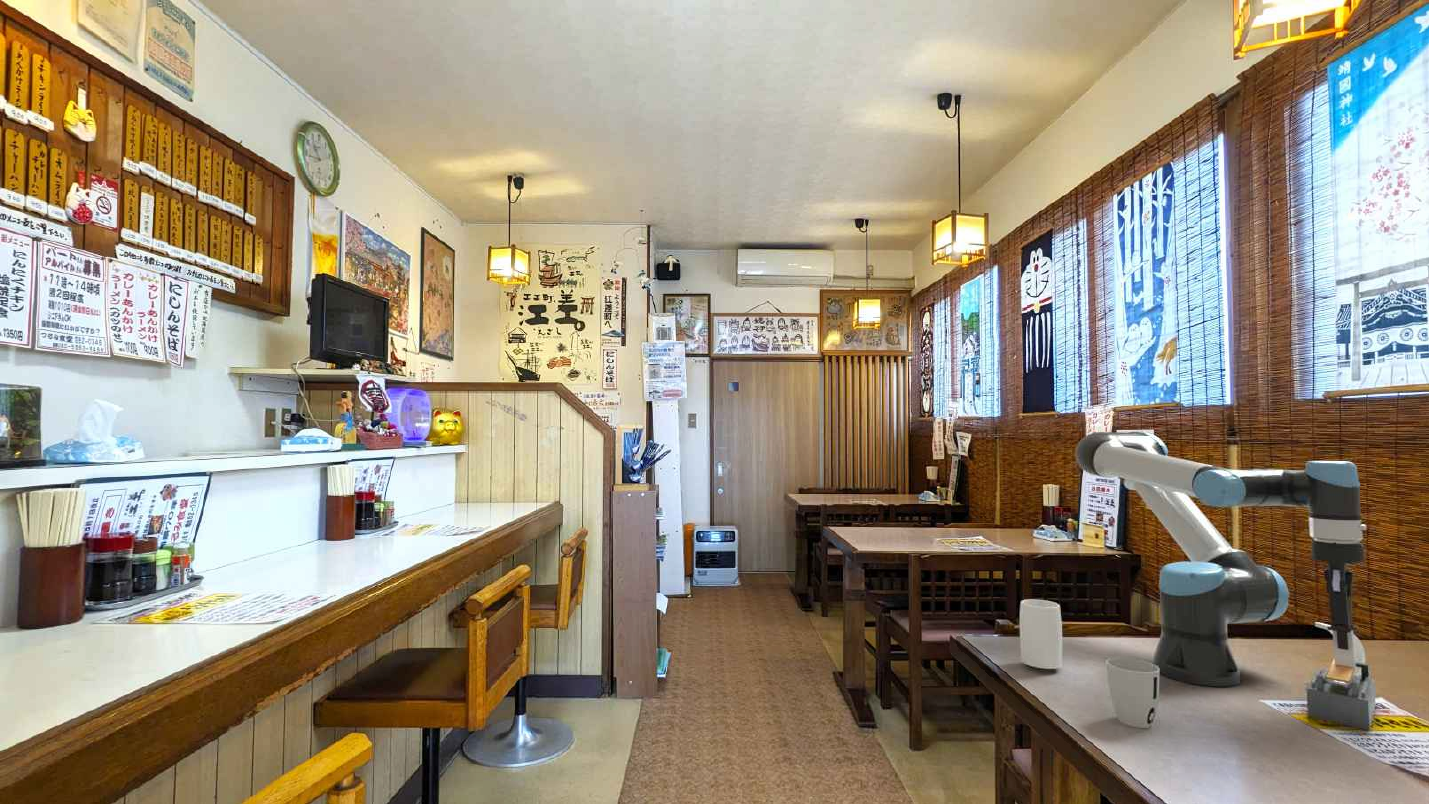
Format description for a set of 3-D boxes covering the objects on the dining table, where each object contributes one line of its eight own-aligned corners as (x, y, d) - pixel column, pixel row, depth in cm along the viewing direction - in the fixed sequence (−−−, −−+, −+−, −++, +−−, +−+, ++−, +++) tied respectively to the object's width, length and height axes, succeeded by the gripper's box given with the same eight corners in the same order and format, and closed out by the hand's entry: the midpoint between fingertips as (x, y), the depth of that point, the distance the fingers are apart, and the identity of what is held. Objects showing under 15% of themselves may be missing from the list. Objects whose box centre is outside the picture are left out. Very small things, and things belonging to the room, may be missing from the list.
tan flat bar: (1349, 686, 119) (1349, 681, 119) (1326, 682, 121) (1326, 676, 121) (1355, 668, 127) (1354, 663, 127) (1334, 664, 130) (1333, 659, 130)
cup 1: (1053, 678, 140) (1051, 610, 141) (1014, 667, 146) (1012, 602, 147) (1069, 669, 145) (1067, 603, 146) (1030, 659, 152) (1029, 597, 153)
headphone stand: (1317, 680, 139) (1314, 622, 140) (1344, 679, 139) (1340, 621, 140) (1340, 688, 134) (1337, 628, 135) (1367, 687, 135) (1363, 627, 136)
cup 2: (1162, 735, 112) (1160, 675, 113) (1107, 725, 116) (1105, 667, 117) (1160, 719, 119) (1158, 662, 120) (1108, 709, 123) (1106, 654, 124)
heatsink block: (1369, 730, 114) (1367, 685, 115) (1308, 716, 120) (1305, 673, 121) (1375, 706, 125) (1373, 665, 126) (1318, 694, 131) (1316, 655, 132)
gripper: (1360, 546, 121) (1370, 678, 119) (1365, 538, 130) (1374, 661, 128) (1305, 542, 126) (1314, 668, 125) (1314, 535, 135) (1322, 652, 134)
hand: (1345, 664), depth 126 cm, fingers closed, pressing on tan flat bar
